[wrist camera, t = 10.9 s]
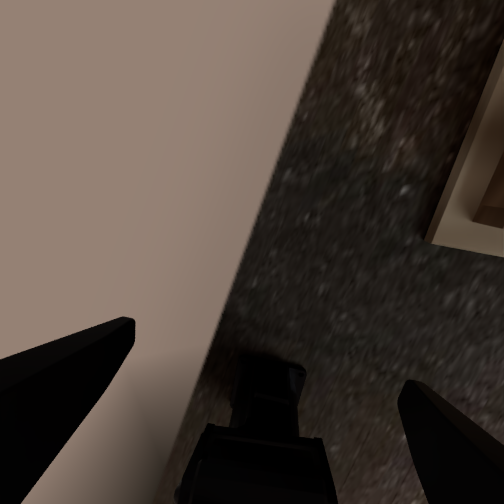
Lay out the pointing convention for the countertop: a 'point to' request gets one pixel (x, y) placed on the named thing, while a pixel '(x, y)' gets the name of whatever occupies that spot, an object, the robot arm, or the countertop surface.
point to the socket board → (477, 179)
